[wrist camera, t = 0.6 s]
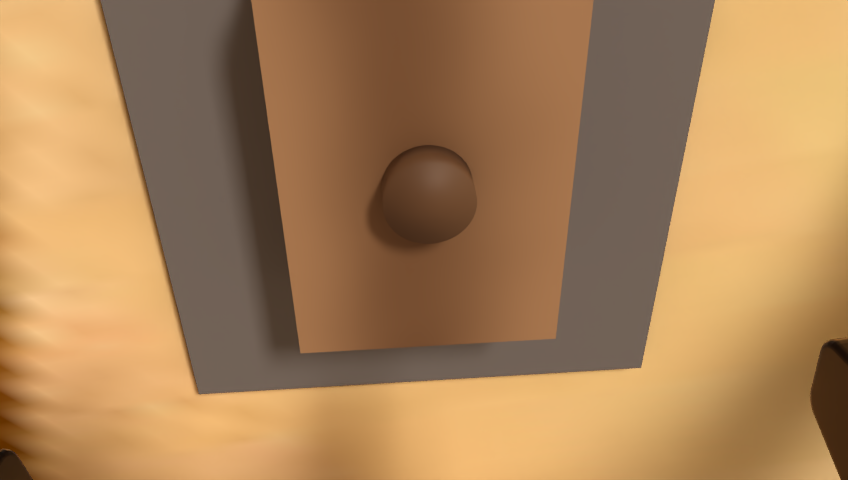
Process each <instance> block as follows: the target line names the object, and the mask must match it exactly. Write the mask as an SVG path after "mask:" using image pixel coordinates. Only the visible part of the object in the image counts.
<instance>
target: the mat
mask: <svg viewBox="0 0 848 480" xmlns="http://www.w3.org/2000/svg"><path fill="white" fill-rule="evenodd" d="M714 2H715V0H594V1H593V10H592V19H591V28H590V37H589V46H588V55H587V64H586V73H585V82H584V91H583V99H582V108H581V117H580V126H579V135H578V144H577V153H576V162H575V171H574V180H573V189H572V198H571V207H570V216H569V224H568V233H567V242H566V251H565V260H564V269H563V278H562V287H561V296H560V305H559V314H558V323H557V332H556V339H542V340H524V341H507V342H490V343H472V344H455V345H437V346H420V347H403V348H385V349H368V350H351V351H333V352H316V353H300V346H299V339H298V332H297V325H296V317H295V310H294V303H293V296H292V289H291V282H290V274H289V267H288V260H287V253H286V246H285V239H284V231H283V224H282V217H281V210H280V203H279V196H278V188H277V181H276V174H275V167H274V160H273V153H272V145H271V138H270V131H269V124H268V117H267V110H266V102H265V95H264V88H263V81H262V74H261V67H260V59H259V52H258V45H257V38H256V31H255V24H254V16H253V9H252V2H251V0H101V4H102V8H103V12H104V16H105V20H106V24H107V28H108V32H109V36H110V40H111V44H112V48H113V52H114V56H115V60H116V64H117V68H118V72H119V76H120V80H121V84H122V88H123V92H124V96H125V100H126V104H127V108H128V112H129V116H130V120H131V124H132V128H133V132H134V136H135V140H136V144H137V148H138V152H139V156H140V160H141V164H142V168H143V172H144V176H145V180H146V184H147V188H148V192H149V196H150V200H151V204H152V208H153V212H154V216H155V220H156V224H157V228H158V232H159V236H160V240H161V244H162V248H163V252H164V256H165V260H166V264H167V268H168V272H169V276H170V280H171V284H172V288H173V292H174V296H175V300H176V304H177V308H178V312H179V316H180V320H181V324H182V328H183V332H184V336H185V340H186V344H187V348H188V352H189V356H190V360H191V364H192V368H193V372H194V376H195V380H196V384H197V388H198V392H199V394H210V393H227V392H244V391H260V390H277V389H294V388H311V387H327V386H344V385H361V384H378V383H394V382H411V381H428V380H445V379H461V378H478V377H495V376H512V375H528V374H545V373H562V372H578V371H595V370H612V369H629V368H641V365H642V360H643V355H644V350H645V345H646V340H647V335H648V330H649V326H650V321H651V316H652V311H653V306H654V301H655V296H656V291H657V286H658V281H659V276H660V271H661V266H662V261H663V256H664V251H665V246H666V241H667V236H668V231H669V226H670V221H671V216H672V211H673V206H674V201H675V196H676V191H677V186H678V181H679V176H680V171H681V166H682V161H683V156H684V151H685V147H686V142H687V137H688V132H689V127H690V122H691V117H692V112H693V107H694V102H695V97H696V92H697V87H698V82H699V77H700V72H701V67H702V62H703V57H704V52H705V47H706V42H707V37H708V32H709V27H710V22H711V17H712V12H713V7H714Z"/></svg>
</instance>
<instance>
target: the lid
mask: <svg viewBox="0 0 848 480" xmlns="http://www.w3.org/2000/svg"><path fill="white" fill-rule="evenodd" d="M593 1H594V0H251V2H252V9H253V16H254V24H255V31H256V38H257V45H258V52H259V59H260V67H261V74H262V81H263V88H264V95H265V102H266V110H267V117H268V124H269V131H270V138H271V145H272V153H273V160H274V167H275V174H276V181H277V188H278V196H279V203H280V210H281V217H282V224H283V231H284V239H285V246H286V253H287V260H288V267H289V274H290V282H291V289H292V296H293V303H294V310H295V317H296V325H297V332H298V339H299V346H300V353H316V352H333V351H351V350H368V349H385V348H403V347H420V346H437V345H455V344H472V343H490V342H507V341H524V340H542V339H556V332H557V323H558V314H559V305H560V296H561V287H562V278H563V269H564V260H565V251H566V242H567V233H568V224H569V216H570V207H571V198H572V189H573V180H574V171H575V162H576V153H577V144H578V135H579V126H580V117H581V108H582V99H583V91H584V82H585V73H586V64H587V55H588V46H589V37H590V28H591V19H592V10H593Z"/></svg>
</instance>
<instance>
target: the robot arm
mask: <svg viewBox="0 0 848 480" xmlns="http://www.w3.org/2000/svg"><path fill="white" fill-rule="evenodd" d="M811 406H812V410H813V413H814V416H815V418H816V420H817V423H818V425H819V428H820V430H821V433H822V435H823V437H824V440H825V442H826V445H827V447H828V450H829V452H830V455H831V457H832V459H833V462H834V464H835V467H836V469H837V472H838V474H839V476H840V479H841V480H848V337H847V338H840V339H832V340H829V341H827V342H826V343H825V344H824V345H823V346H822V348H821V351H820V355H819V359H818V363H817V367H816V372H815V376H814V380H813V384H812V388H811ZM0 480H33V479H32V477H31V476H30V474H29V473H28V471H27V470H26V468H25V466H24V465H23V463H22V462H21V460H20V458H19V457H18V455H17V454H16V453H15V452H13V451H11V450H10V449H0Z"/></svg>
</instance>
